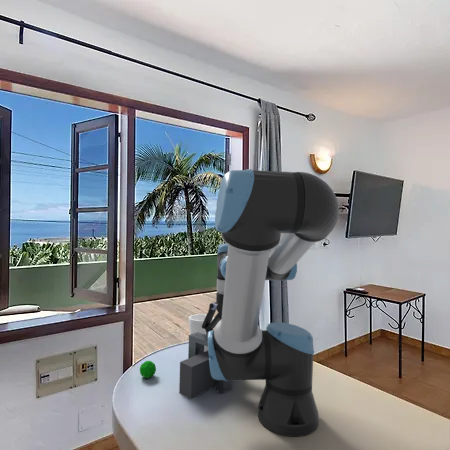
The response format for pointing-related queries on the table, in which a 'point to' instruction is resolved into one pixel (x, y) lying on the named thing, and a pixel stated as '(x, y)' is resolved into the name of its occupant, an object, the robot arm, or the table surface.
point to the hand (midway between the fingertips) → (226, 356)
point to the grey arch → (197, 347)
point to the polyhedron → (147, 369)
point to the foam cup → (197, 324)
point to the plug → (195, 375)
